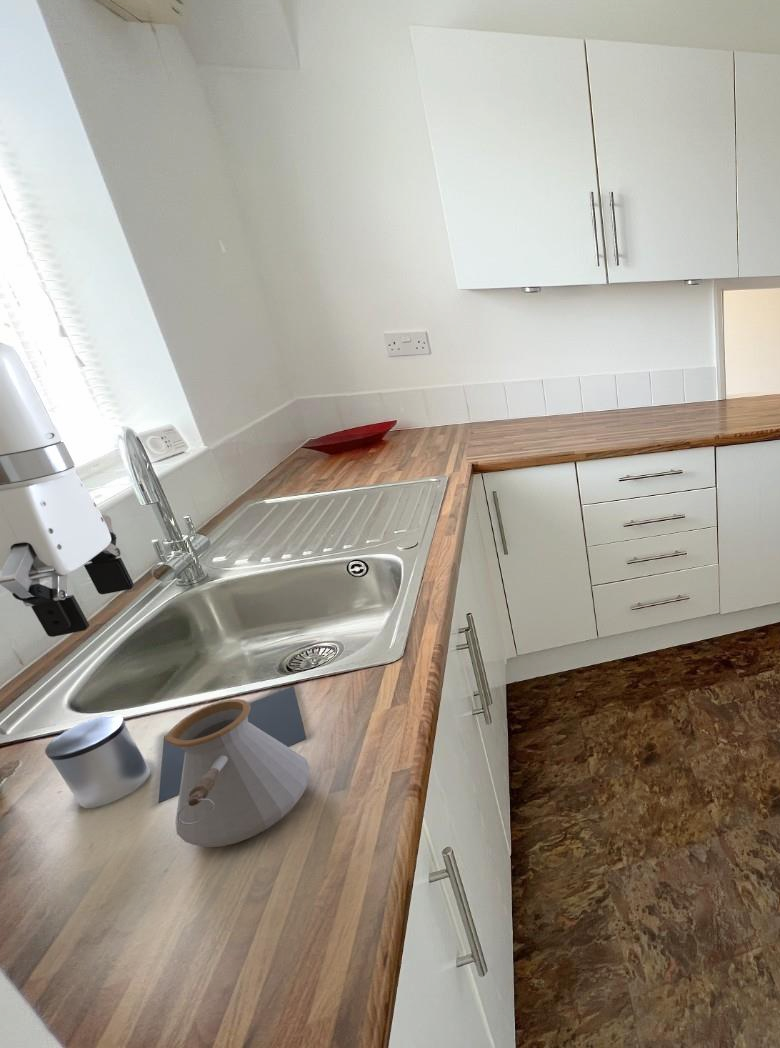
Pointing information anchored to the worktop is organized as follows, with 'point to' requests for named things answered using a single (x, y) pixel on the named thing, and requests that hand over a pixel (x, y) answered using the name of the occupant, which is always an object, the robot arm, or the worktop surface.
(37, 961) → the worktop surface
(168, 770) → the mat
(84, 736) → the canister
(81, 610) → the robot arm
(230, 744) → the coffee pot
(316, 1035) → the worktop surface
